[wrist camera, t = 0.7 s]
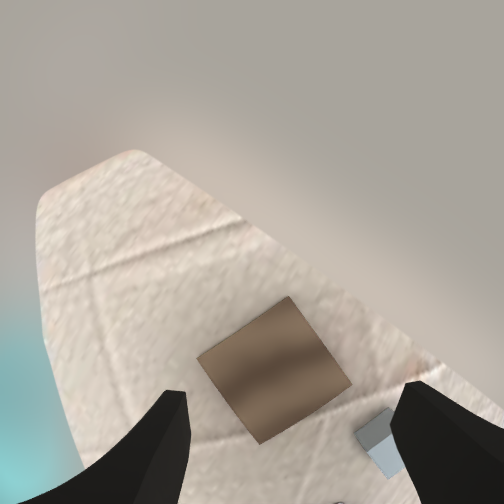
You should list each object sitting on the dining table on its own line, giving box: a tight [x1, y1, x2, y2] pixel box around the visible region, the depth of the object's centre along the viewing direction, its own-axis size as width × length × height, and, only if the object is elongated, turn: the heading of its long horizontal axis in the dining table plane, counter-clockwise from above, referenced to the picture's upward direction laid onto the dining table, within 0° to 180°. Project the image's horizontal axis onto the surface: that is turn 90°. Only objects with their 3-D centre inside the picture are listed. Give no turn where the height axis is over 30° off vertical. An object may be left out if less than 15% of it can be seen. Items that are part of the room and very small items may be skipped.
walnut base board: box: [196, 296, 352, 445], centre depth 28 cm, size 11×11×1 cm
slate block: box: [354, 408, 405, 479], centre depth 23 cm, size 4×4×6 cm
